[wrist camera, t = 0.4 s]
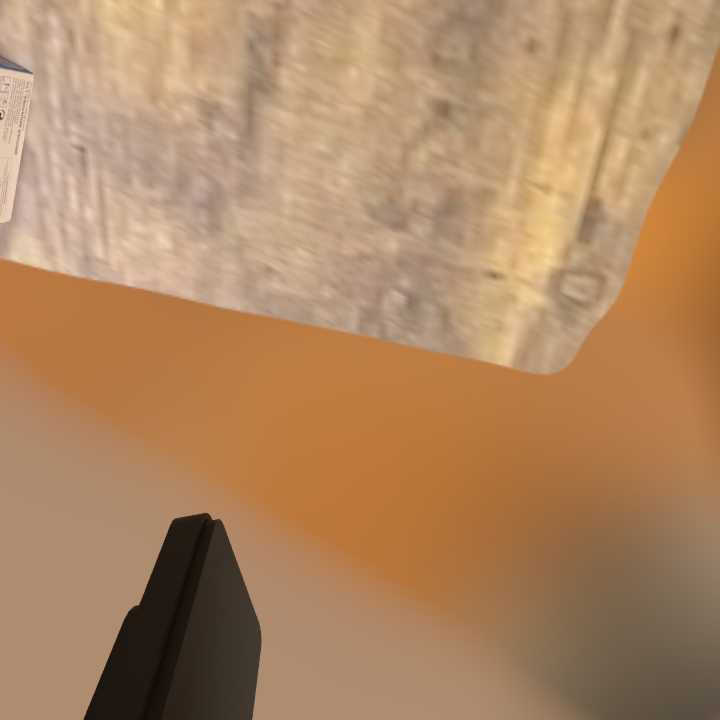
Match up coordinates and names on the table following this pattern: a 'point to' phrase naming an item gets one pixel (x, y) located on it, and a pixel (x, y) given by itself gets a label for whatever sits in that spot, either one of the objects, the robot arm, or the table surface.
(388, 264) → the table surface
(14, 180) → the ink cartridge box
